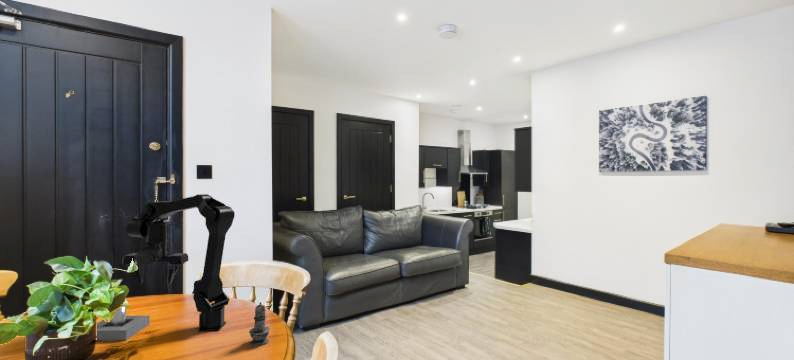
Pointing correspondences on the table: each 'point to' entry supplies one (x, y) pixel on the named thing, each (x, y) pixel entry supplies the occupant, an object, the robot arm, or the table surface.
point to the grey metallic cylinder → (119, 317)
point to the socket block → (121, 328)
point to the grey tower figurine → (259, 327)
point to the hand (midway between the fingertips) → (155, 283)
